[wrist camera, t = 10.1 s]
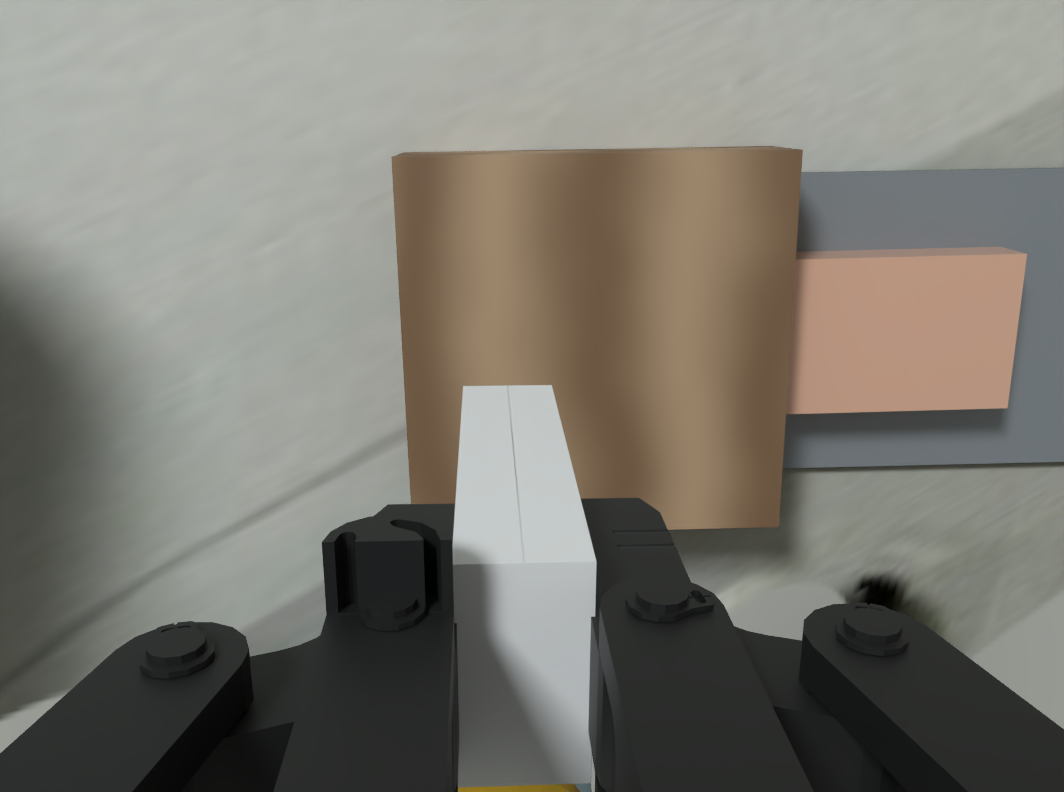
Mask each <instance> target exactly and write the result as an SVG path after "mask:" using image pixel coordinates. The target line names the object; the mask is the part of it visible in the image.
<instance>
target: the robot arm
mask: <svg viewBox="0 0 1064 792" xmlns="http://www.w3.org/2000/svg"><path fill="white" fill-rule="evenodd" d="M322 552H323V567H324V582H325V597H326V612H327V615H326V619H325V622H324V625H323V629H322V632H321V635H320V636H319V637H317V638H315V639H313V640H311V641H308V642H306V643H303V644H301V645H299V646H295V647H291V648H288V649H284V650H280V651H276V652H271V653H266V654H261V655H256V656H251V657H250V655H249V648H248V644H247V640H246V637H245V636H244V635H243V634H241V633H240V632H238V631H237V630H236V629H234V628H233V627H229V626H225V625H221V624H217V623H213V622H192V621H188V622H179V623H177V624H176V625H174V623H173V624H169V625H165V626H161V627H158V628H157V629H155V630H153V631H150V632H147V633H145V634H142V635H139V636H137V637H135V638H133V639H132V640H130V641H129V642H127V643H126V644H124V645H123V646H121V647H120V648H118V649H117V650H115V651H114V652H113V653H112V654H111V655H110V656H109V657H107V658H106V659H105V660H104V661H103V662H102V663H101V664H100V665H99V666H97V667H96V668H95V669H94V670H93V671H92V672H91V673H90V674H88V675H87V676H86V677H85V678H84V679H83V680H82V681H81V682H80V683H78V684H77V685H76V686H75V687H74V688H73V689H72V690H71V691H70V692H68V693H67V694H66V695H65V696H64V697H63V698H62V699H61V700H59V701H58V702H57V703H56V704H55V705H54V706H53V707H52V708H51V709H50V710H48V711H47V712H46V713H45V714H44V715H43V716H42V717H40V718H39V719H38V720H37V721H36V722H35V723H34V724H33V725H32V726H31V727H29V728H28V729H27V730H26V731H25V732H24V733H23V734H22V735H20V736H19V737H18V738H17V739H16V740H15V741H14V742H13V743H12V744H10V745H9V746H8V747H7V748H6V749H5V750H4V751H3V752H2V753H0V792H458V787H490V786H521V785H553V784H584V783H591V761H592V760H591V759H592V756H593V761H594V767H595V792H1064V729H1063V728H1061V727H1060V726H1058V725H1057V724H1056V723H1054V722H1053V721H1052V720H1050V719H1049V718H1048V717H1046V716H1045V715H1044V714H1042V713H1041V712H1040V711H1039V710H1037V709H1036V708H1034V707H1033V706H1032V705H1031V704H1029V703H1028V702H1027V701H1025V700H1024V699H1023V698H1021V697H1020V696H1019V695H1017V694H1016V693H1015V692H1013V691H1012V690H1010V689H1009V688H1008V687H1007V686H1005V685H1004V684H1003V683H1001V682H1000V681H999V680H997V679H996V678H995V677H993V676H992V675H991V674H989V673H988V672H987V671H985V670H984V669H983V668H981V667H980V666H979V665H977V664H976V663H975V662H973V661H972V660H971V659H969V658H968V657H967V656H966V655H964V654H963V653H962V652H960V651H959V650H958V649H956V648H955V647H954V646H952V645H951V644H950V643H948V642H947V641H946V640H944V639H943V638H942V637H940V636H939V635H938V634H936V633H935V632H934V631H932V630H931V629H930V628H928V627H927V626H925V625H923V624H922V623H920V622H918V621H916V620H915V619H913V618H911V617H909V616H908V615H905V614H902V613H899V612H896V611H893V610H890V609H888V608H886V607H884V606H880V605H875V604H870V605H867V603H857V602H855V603H851V604H833V605H830V606H826V607H824V608H820V609H817V610H814V611H813V612H812V613H811V614H810V615H809V616H808V617H807V618H806V619H805V620H804V627H803V639H802V641H800V640H794V639H787V638H781V637H774V636H768V635H763V634H758V633H754V632H749V631H746V630H743V629H740V628H737V627H734V626H733V623H732V621H731V620H730V617H729V615H728V613H727V611H726V609H725V607H724V605H723V604H722V602H721V601H720V600H719V599H718V598H717V597H716V596H715V595H714V593H712V592H710V591H708V590H706V589H704V588H702V587H701V586H699V585H697V584H694V583H691V581H690V579H689V577H688V574H687V572H686V570H685V568H684V565H683V563H682V561H681V559H680V556H679V554H678V552H677V549H676V547H674V543H673V540H672V538H671V536H670V534H669V533H668V529H667V527H666V525H665V522H664V520H663V518H662V516H661V513H660V512H659V511H657V510H656V509H655V508H653V507H652V506H650V505H649V504H647V503H646V502H644V501H643V500H642V499H640V498H588V499H581V498H580V495H579V491H578V487H577V483H576V479H575V475H574V471H573V467H572V463H571V459H570V455H569V451H568V447H567V443H566V439H565V435H564V432H563V428H562V424H561V420H560V416H559V412H558V408H557V404H556V400H555V396H554V392H553V388H552V385H513V386H463V395H462V410H461V425H460V440H459V455H458V470H457V485H456V500H455V503H454V504H395V505H387V506H386V507H384V508H383V509H382V510H381V511H380V512H378V513H377V514H376V515H375V516H373V517H367V518H363V519H360V520H356V521H352V522H348V523H346V524H344V525H342V526H340V527H338V528H337V529H335V530H333V531H331V532H330V533H329V534H328V535H327V537H326V538H325V539H324V540H323V542H322Z"/></svg>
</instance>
